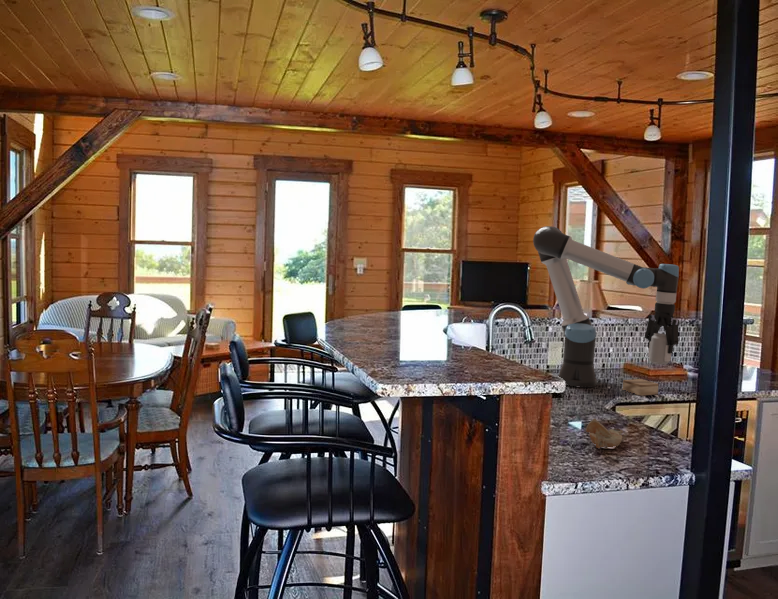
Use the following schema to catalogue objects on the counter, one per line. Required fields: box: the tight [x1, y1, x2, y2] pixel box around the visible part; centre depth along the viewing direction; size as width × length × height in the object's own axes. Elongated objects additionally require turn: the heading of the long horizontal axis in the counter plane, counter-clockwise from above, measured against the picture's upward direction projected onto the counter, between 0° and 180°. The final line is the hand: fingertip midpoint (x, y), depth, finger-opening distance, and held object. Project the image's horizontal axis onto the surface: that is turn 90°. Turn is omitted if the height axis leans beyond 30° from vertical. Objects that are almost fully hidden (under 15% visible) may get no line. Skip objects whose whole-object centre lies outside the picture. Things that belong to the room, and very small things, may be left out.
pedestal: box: [622, 378, 659, 397], centre depth 270 cm, size 9×9×4 cm
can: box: [648, 332, 670, 366], centre depth 283 cm, size 8×8×12 cm
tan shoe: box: [585, 418, 624, 449], centre depth 196 cm, size 9×21×10 cm, turn 144°
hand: (659, 359), depth 283 cm, fingers closed on can, 7 cm apart
